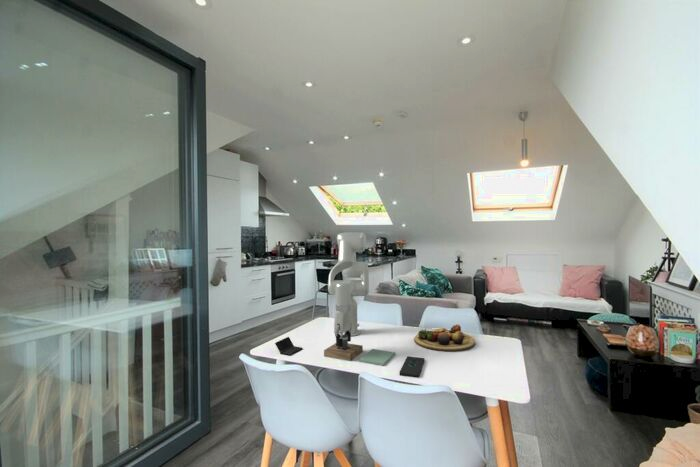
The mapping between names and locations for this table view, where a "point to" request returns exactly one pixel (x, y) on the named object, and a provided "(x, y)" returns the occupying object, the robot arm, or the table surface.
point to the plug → (344, 342)
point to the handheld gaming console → (287, 347)
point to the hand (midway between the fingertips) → (343, 343)
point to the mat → (377, 357)
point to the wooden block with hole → (343, 352)
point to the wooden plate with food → (445, 339)
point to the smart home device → (412, 367)
